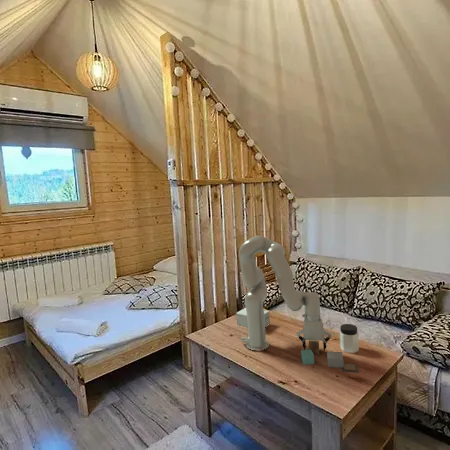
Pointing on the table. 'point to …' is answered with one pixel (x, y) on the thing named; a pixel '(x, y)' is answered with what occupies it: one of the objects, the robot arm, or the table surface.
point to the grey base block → (335, 359)
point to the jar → (349, 338)
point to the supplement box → (242, 318)
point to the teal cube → (307, 357)
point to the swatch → (350, 368)
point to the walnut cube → (314, 347)
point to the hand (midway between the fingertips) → (314, 349)
